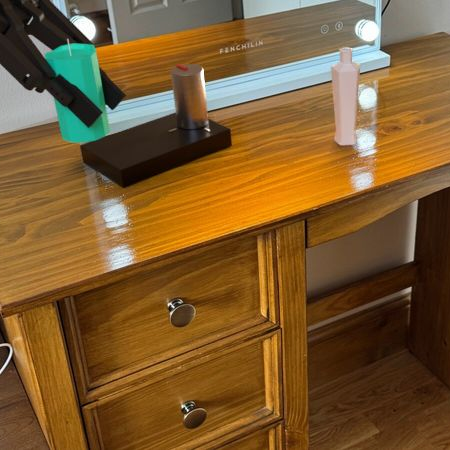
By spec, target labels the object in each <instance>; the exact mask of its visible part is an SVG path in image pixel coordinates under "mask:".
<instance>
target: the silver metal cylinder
mask: <svg viewBox="0 0 450 450" xmlns="http://www.w3.org/2000/svg"><path fill="white" fill-rule="evenodd" d="M170 78H171V85H172V93H173V99H174V100H173V102H174V109H175V112H176V118H177V125H178V127H180V128H182V129H199V128H202V127H204V126H206V125H207V124H208V119H209V118H208V117H209V114H208V113H209V111H208V104H207V94H206V85H205V75H204V68H203V66H202V65H199V64H195V63H194V64H192V63H188V64H187V63H185V64H181V63H177V64H175V66H174V67H172V68H171V69H170Z"/></svg>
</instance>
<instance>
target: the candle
mask: <svg viewBox="0 0 450 450" xmlns="http://www.w3.org/2000/svg"><path fill="white" fill-rule="evenodd" d="M67 41H68V44H67V45H62V46H60V47H58V48H56V49H55V50H51V51H49V52H45V53H44V58H45V59H46V60H47V62H48V63H49V65H50V66H51V67H52V69H53V70H54V71H55V73H56V75H55V77H57V76H58V74H61V75H62V76H63V77H64V78H65V79H66V80H68V81H69V82H70V83H71V84H73V85H75V86H77V87H78V88H79V89H80V90H81V91H82V92H83V93H84V94H85V95H86V96H87V97H88V98H89V99H90V100H91V101H92V102H93V103H94V104H95V105H96V106H97V107H98V108H99V109H100V110H101V111H102V112H103V113H102V114H101V116H100V117H99V118H98V119H97V120H96V121H95V123H94V124H93V125H92V126H91V127H89V128H88V127H87V126H86V125H85V124H84V123H83V122H82V121H81V120H80V119H79V118H78V117H77V116H76V115H74V114H73V113H72V112H71V111H70V110H69V109H68V108H67V107H64V106H63V105H61V104H60V103H59V102H58V101H57V100H56V99H55V98H54V97H53V101H54V106H55V110H56V115H57V120H58V126H59V129H60V134H61V138H62V140H64V141H67V142H69V143H75V144H76V143H79V144H80V143H81V144H85V143H88V142H91V141H95V140H98V139H100V138H103V137H106V136H108V135H109V133H110V132H111V128H110V123H109V118H108V112H107V107H106V106H107V105H106V104H105V100H104V94H103V88H102V83H101V77H100V71H99V67H100V66H99V65H100V64H99V61H98V55H97V50H96V47H95V45H94V44H93V45H90V44H79V43H72V44H69V40H68V39H67Z"/></svg>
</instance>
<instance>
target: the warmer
mask: <svg viewBox="0 0 450 450" xmlns="http://www.w3.org/2000/svg"><path fill="white" fill-rule="evenodd" d="M214 117H217V114H216V113H215V114H211V115H208V124H207V125H206V126H204V127H202V128H199V129H182V128H180V127H178V125H177V118H176V111H175V112H172V113H169V114H166V115H164V116H161V117H157V118H155V119H152V120H149V121H146V122H143V123H140V124H138V125H134V126H132V127H128V128H125V129H123V130H120V131H117V132H114V133H111V134H107V135H106V136H105V137H102V138H100V139H98V140H95V141H90V142H84V143H81V144H80V145H79V149H80V153H81V159H82V163H83V164H84V165H85V166H88V167H89V168H90V169H92V170H94V171H95V172H96V173H99V174H100V175H102V176H103V177H105V178H106V179H108V180H109V181H111V182H113V183H114V184H116V185H118V186H119V187H120V188H123V189H126V188H128V187H130V186H133V185H136V184H138V183H141V182H143V181H147V180H148V179H151V178H153V177H156V176H159V175H161V174H164V173H166V172H168V171H171V170H174V169H176V168H179V167H181V166H184V165H187V164H189V163H191V162H194V161H197V160H199V159H202V158H204V157H207V156H209V155H211V154H215V153H217V152H220V151H222V150H224V149H228V148H230V147H232V146H233V144H232V143H233V142H232V141H233V140H232V132H231V131H232V130H231V128H230V127H228V126H225V125H223V124H221V123H220V122H217V121H215V120H212V118H214Z"/></svg>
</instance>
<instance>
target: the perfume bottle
mask: <svg viewBox="0 0 450 450" xmlns="http://www.w3.org/2000/svg"><path fill="white" fill-rule="evenodd" d="M353 50H354V48H352V47H347V46H345V47H341V48H339V49H338V51H339V61H338V62H336V63H335V64H333V65H331V66H330V73H331V74H330V75H331V76H330V77H331V86H332V88H331V89H332V98H333V100H332V101H333V110H334V111H333V112H334V122H335V123H334V124H335V133H334V138H333V141H334V142H335V143H337V144H338V145H339V146H353V145H354V146H355V145H357V142H358V135H357V134H358V133H357V116H358V115H357V114H358V103H359V102H358V101H359V90H360V88H359V87H360V76H361V75H360V74H361V64H360V63H357V62H355V61H353Z"/></svg>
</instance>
